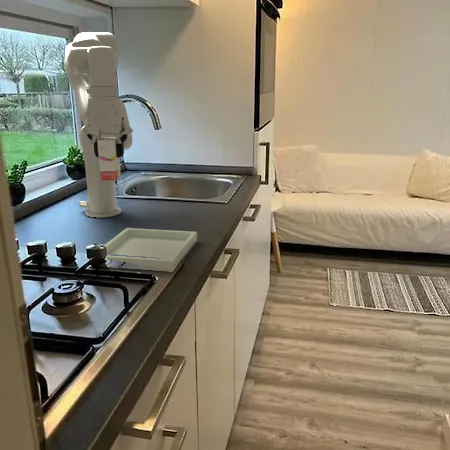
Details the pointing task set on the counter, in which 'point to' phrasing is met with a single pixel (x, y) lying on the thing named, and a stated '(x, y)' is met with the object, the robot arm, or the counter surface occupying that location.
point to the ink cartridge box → (108, 158)
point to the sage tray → (151, 246)
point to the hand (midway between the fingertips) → (109, 156)
